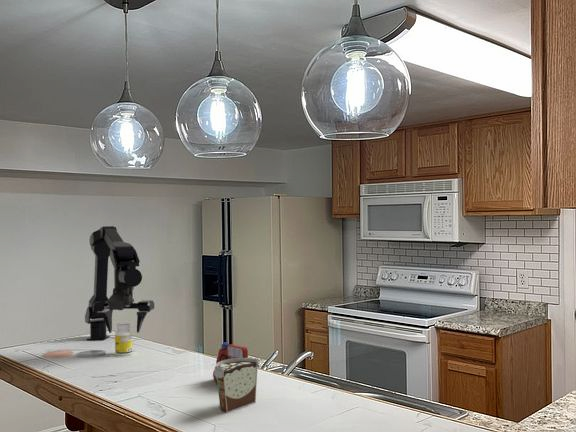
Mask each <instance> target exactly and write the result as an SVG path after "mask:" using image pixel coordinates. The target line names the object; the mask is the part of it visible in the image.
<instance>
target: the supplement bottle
mask: <svg viewBox="0 0 576 432" xmlns="http://www.w3.org/2000/svg"><path fill="white" fill-rule="evenodd" d="M116 327H117V330H116V331H115V334H114V342H115V343H114V347H115V348H114V350H115V351H114V353H115V354H116V355H118V356H125V355H130V354H132V351H133V330H132V329H130V328H131V323H130V322H129V323H128V322H121V323H117V325H116Z"/></svg>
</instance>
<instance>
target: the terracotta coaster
mask: <svg viewBox="0 0 576 432" xmlns="http://www.w3.org/2000/svg"><path fill="white" fill-rule="evenodd" d="M72 355H74V351H73V350H69V349H68V350H67V349H63V350H62V349H60V350H52V351H47V352H45V353H43V357H44V356H45V357H44V358H48V357H50V358H51V359H54V358H55V357H57V358H63V357H64V356H65V357H68V356H72Z"/></svg>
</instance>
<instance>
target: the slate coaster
mask: <svg viewBox="0 0 576 432" xmlns="http://www.w3.org/2000/svg"><path fill="white" fill-rule="evenodd" d="M106 354H107V351H106V350H100V349H94V350H93V349H92V350H91V349H90V350H84V351H81V352H77V353H76V357H78V358H86V359H87V358H88V359H89V358H97V357H103V356H105V355H106Z"/></svg>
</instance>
